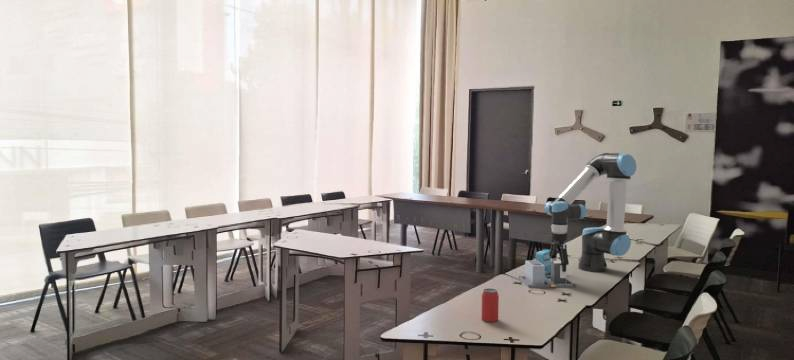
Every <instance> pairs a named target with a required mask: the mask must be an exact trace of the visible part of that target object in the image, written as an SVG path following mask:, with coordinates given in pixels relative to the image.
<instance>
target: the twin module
mask: <svg viewBox="0 0 794 360" xmlns="http://www.w3.org/2000/svg"><path fill="white" fill-rule="evenodd" d="M524 266H525V267H524V268H525V270H524V273H525V274H524V276H525V280H526V281H527V282H528V283H529V284H530V285H534V284H545V276H546V274H545V266H544V265H543V264H541V263H540V262H539V261H537V260H536V259H535V260H534V259H533V260H525V265H524Z"/></svg>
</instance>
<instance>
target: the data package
mask: <svg viewBox="0 0 794 360" xmlns="http://www.w3.org/2000/svg"><path fill="white" fill-rule="evenodd" d="M549 253H550V249H545V248H544V249H543V250H539V251H536V253H535V260H537V261H539V262H540V263H541V264H543V265H544V266H545V275H548V274H551V257H550V256H549ZM551 254H552V253H551Z"/></svg>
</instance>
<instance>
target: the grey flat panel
mask: <svg viewBox="0 0 794 360" xmlns="http://www.w3.org/2000/svg"><path fill="white" fill-rule="evenodd" d="M550 279H551V275H545V284H534V285H530V284H529V283H528V282H527V281H526V280H525V275H519V276H518V280H520V281H521V282H522V283H523V284H525V286H526V287H527V288H528V289H539V288H540V289H542V288H544V289H545V288H551V289H552V288H576V285H577V284H576V283H574V282H573V281H571V280H570V279H569V278H567V277H566V284H554V283H552V282H551V281H550Z"/></svg>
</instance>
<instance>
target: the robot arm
mask: <svg viewBox="0 0 794 360" xmlns="http://www.w3.org/2000/svg"><path fill="white" fill-rule="evenodd" d="M636 171H637V162H636V159H635V158H634V156H633V155H632V154H629V153H623V152H621V153H620V152H603V153H600V154H598V155H596V156H595V157H592V159H591V160H589V161H588V162H587V163H586V164H585V165H584V166H583V170H582V171H581V172H580V173H579V174H578V175H577V176H576V177H575V178H574V179H573V181H571V182H570V183H569V185H568V186H566V188H564V189H563V191H562V192H561V193H560V194H559V195H558V196H557V197H556V198H555V199H554V200H551V201H546V203H545V204H544V212H545V213H546V214H547V215H549V216H551V225H550V228H551V236H550V237H551V245H550V249H549V250H550V253H549V256H550V257H551V262H553V261H557V258H558V257H557V256H558V255H559V261H561V264H560V265H561V270H560V278H567V266H568V265H569V264H570V263H569V256H568V250H567V249H568V246H567V244H564V242H566V241H567V240H568V234H567V233H568V226H569V225H568V221H571V220H582V219H584V218H585V217H586V216H587V213H588V212H587V208H586V206H585V205H583V204H581V203H580V204H578V203H576V204H573V203H574V202H575V200H576V199H577V198H579V196H580V195H581V194H582V193H583V192H584V191H585V190H586V189H587V188H588V187H589V186H590V185H591V184H592V183H593V182H594V180H597V179H599V178H600V177H601V176H604V175H606V179H607V180H608V182H609V185H608V199H607V211H606V212H607V214H606V225H605V226H604V227H595V226H594V227H586V228H583V230H582V234H581V255H580V259H579V261H578V264H577V268H578V269H580V270H582V271H586V272H594V273H595V272H598V273H599V272H606V271H608V263H607V261H606V258H605V257H606V256H605V254H608V255H612V256H616V257H617V256H618V257H622V256H625V255H626V254H627V253H628V252H629V250H630V249H631V244H632V241H631V238H630V236H629V235H628V234H627V231H628V230H626V228H625V216H626V215H625V214H626V203H627V201H626V200H627V188H628V182H630V180H631V177H632V176H633V175H635V173H636ZM567 242H568V241H567ZM551 253H552V254H551Z"/></svg>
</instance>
